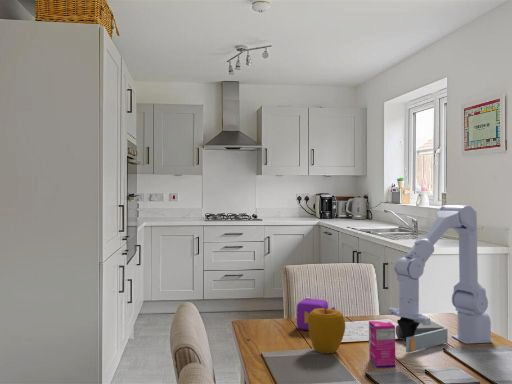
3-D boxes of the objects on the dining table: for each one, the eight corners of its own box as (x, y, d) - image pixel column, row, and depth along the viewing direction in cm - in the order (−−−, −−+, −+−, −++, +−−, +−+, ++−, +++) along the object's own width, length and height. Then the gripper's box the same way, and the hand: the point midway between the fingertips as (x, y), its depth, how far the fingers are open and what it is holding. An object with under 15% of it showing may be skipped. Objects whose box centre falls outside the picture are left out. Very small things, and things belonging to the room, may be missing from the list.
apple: (347, 347, 148) (347, 305, 148) (341, 358, 138) (341, 313, 138) (312, 343, 152) (312, 302, 152) (304, 354, 142) (304, 310, 142)
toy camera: (336, 334, 163) (336, 304, 163) (295, 331, 165) (295, 302, 165) (337, 325, 173) (337, 297, 173) (299, 323, 176) (299, 295, 176)
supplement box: (368, 360, 136) (368, 320, 137) (388, 360, 137) (388, 319, 137) (374, 368, 131) (375, 325, 131) (396, 367, 131) (396, 325, 131)
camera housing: (431, 335, 161) (431, 318, 161) (443, 343, 153) (443, 325, 153) (394, 337, 159) (394, 320, 159) (405, 344, 151) (406, 326, 151)
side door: (445, 341, 153) (445, 327, 153) (449, 342, 152) (449, 329, 152) (406, 351, 143) (406, 337, 143) (410, 353, 141) (410, 338, 141)
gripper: (381, 295, 149) (381, 339, 149) (417, 304, 137) (417, 352, 137) (398, 292, 153) (398, 335, 153) (435, 302, 140) (435, 349, 140)
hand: (408, 343), depth 145 cm, fingers closed
